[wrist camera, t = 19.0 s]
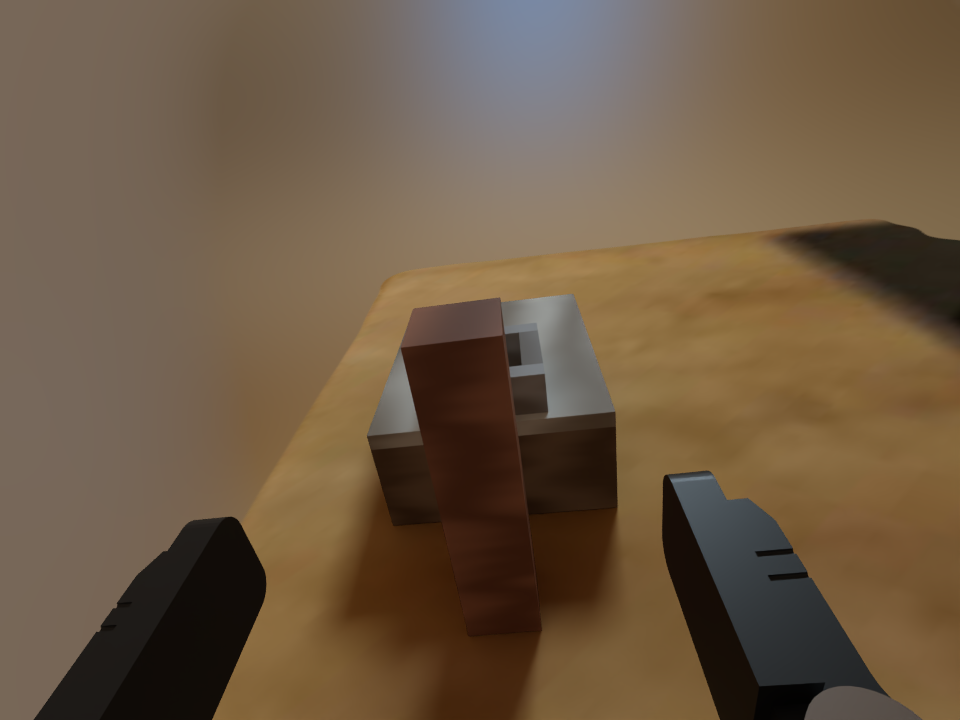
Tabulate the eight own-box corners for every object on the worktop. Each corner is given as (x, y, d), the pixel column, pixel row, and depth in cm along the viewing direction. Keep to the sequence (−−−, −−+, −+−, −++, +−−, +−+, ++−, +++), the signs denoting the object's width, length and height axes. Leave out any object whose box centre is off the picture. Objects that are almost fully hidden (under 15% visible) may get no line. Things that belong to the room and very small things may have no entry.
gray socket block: (577, 365, 48) (571, 265, 43) (617, 507, 32) (614, 372, 27) (427, 381, 49) (406, 286, 45) (393, 525, 33) (355, 399, 29)
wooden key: (535, 569, 29) (500, 297, 21) (541, 630, 25) (502, 335, 18) (470, 575, 29) (413, 308, 21) (468, 636, 26) (400, 347, 18)
